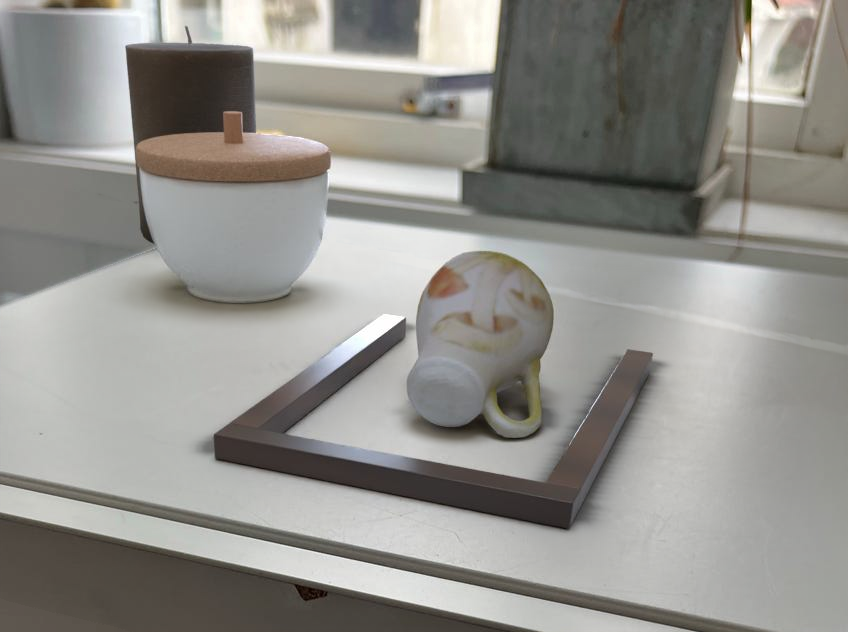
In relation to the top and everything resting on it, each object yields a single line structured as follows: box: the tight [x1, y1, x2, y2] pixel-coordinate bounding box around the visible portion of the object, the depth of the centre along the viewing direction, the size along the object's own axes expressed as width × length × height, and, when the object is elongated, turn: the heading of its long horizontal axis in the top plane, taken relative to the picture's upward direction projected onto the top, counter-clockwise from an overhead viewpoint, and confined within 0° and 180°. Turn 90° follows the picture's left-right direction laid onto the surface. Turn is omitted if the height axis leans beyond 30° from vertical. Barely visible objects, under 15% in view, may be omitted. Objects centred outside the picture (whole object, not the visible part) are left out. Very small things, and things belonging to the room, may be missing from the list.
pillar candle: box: [124, 25, 257, 245], centre depth 79 cm, size 10×10×15 cm
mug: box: [406, 250, 555, 439], centre depth 52 cm, size 8×10×10 cm
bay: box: [213, 313, 654, 530], centre depth 52 cm, size 22×16×1 cm
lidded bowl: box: [134, 111, 332, 304], centre depth 67 cm, size 13×13×11 cm
